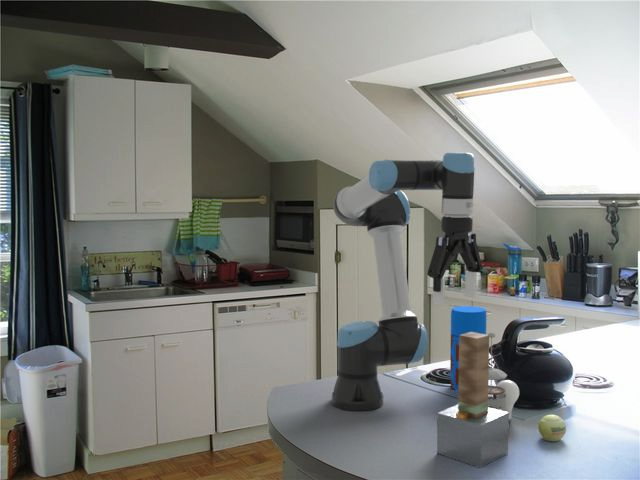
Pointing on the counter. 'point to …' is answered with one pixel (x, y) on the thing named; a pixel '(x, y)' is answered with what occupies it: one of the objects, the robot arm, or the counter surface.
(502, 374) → the french press
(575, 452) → the counter surface
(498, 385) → the lightbulb
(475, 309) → the thermos
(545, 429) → the tennis ball
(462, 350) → the post
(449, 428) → the silver metal block
